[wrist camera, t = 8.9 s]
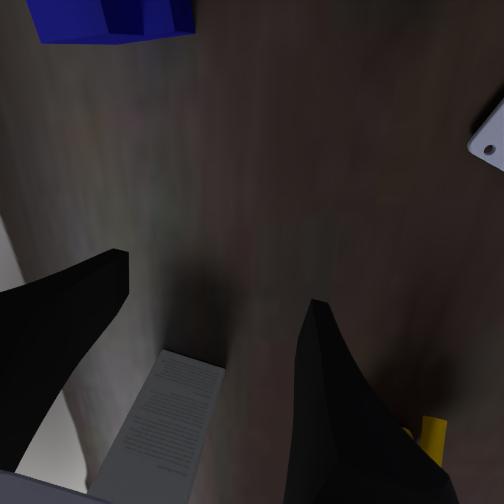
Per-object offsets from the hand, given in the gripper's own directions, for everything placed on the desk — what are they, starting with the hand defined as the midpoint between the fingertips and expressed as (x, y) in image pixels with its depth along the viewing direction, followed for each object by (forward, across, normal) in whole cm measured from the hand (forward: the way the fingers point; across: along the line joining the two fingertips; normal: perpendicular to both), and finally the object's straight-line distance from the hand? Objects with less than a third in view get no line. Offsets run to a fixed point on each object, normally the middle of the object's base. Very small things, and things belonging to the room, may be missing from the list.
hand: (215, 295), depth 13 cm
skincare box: (+10, +3, +18) cm, 21 cm away
